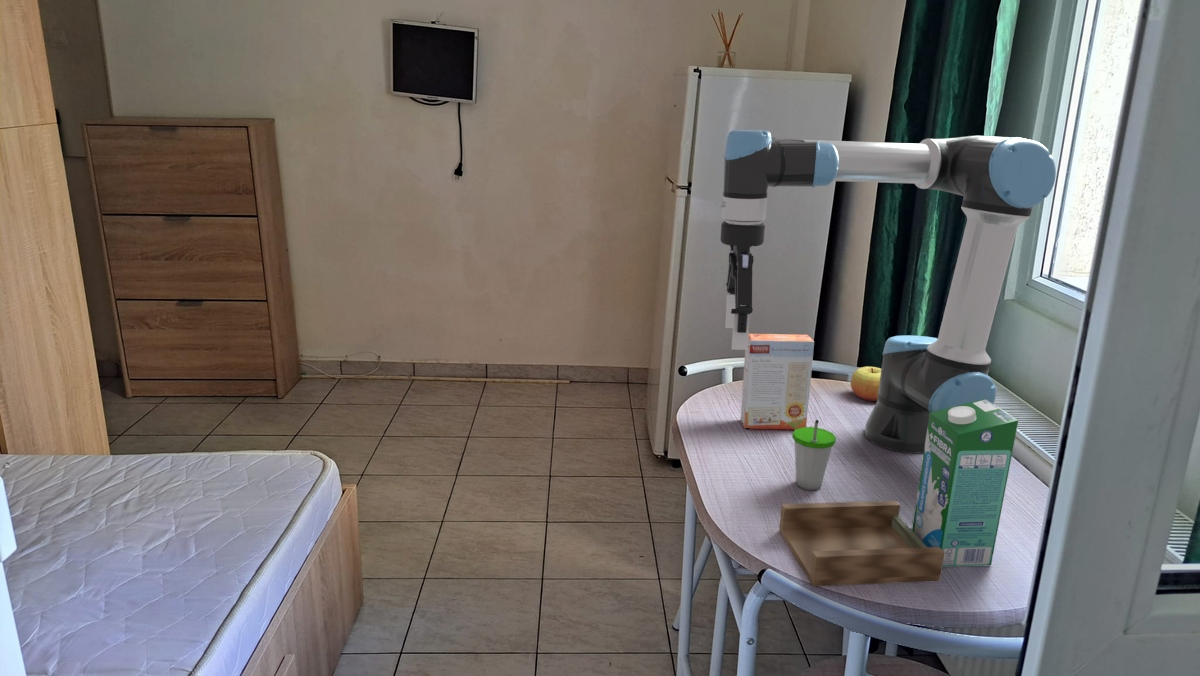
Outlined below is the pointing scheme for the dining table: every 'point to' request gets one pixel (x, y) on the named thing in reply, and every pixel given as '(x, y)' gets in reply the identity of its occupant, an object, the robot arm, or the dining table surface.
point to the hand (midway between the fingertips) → (735, 338)
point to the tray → (857, 544)
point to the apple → (866, 383)
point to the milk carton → (964, 481)
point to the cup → (812, 455)
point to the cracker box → (776, 381)
